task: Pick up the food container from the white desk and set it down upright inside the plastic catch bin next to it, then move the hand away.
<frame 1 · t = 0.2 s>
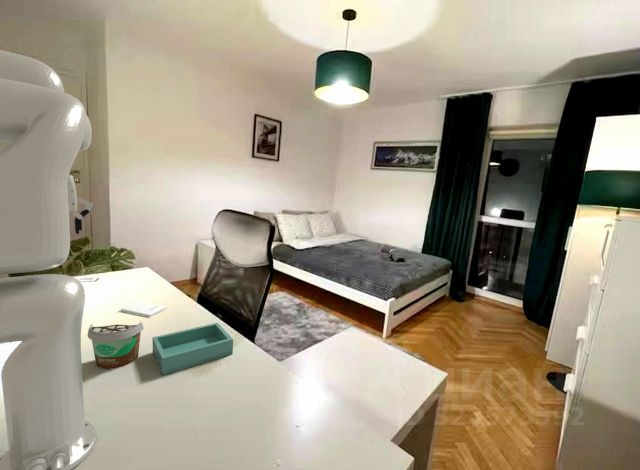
hand: (54, 233, 81), 31 cm above the table, tool pointing down, fingers open, 9 cm apart
external hard drive: (144, 312, 109), on the table
food container: (113, 365, 77), on the table
catch bin: (193, 353, 84), on the table
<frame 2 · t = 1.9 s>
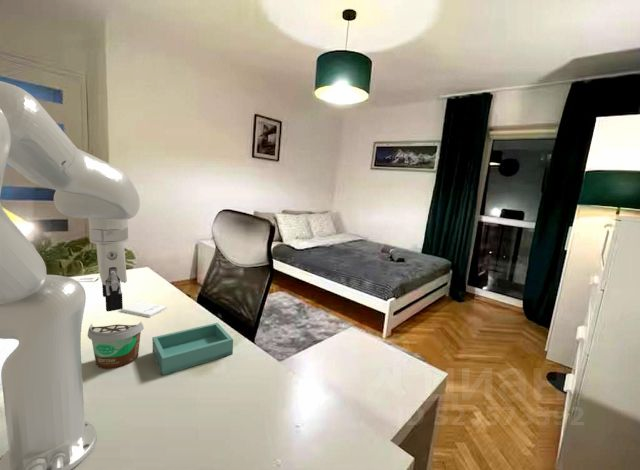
hand: (112, 302, 75), 16 cm above the table, tool pointing down, fingers open, 9 cm apart
nothing on the table moved.
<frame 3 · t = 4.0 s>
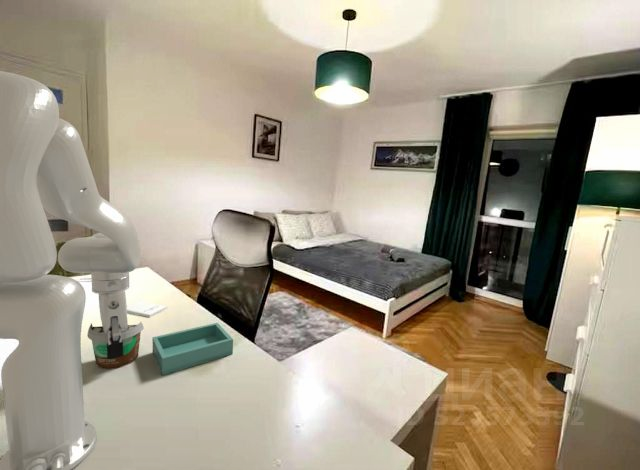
hand: (113, 349, 76), 4 cm above the table, tool pointing down, fingers closed on food container, 7 cm apart
food container: (113, 365, 77), on the table, touching gripper
everything else where it was.
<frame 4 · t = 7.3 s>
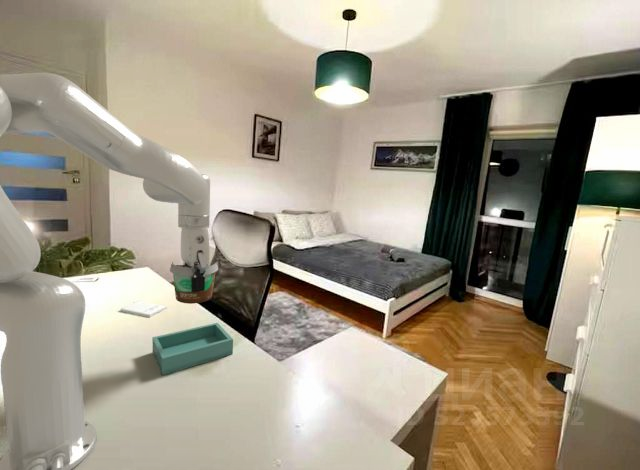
hand: (193, 286, 81), 20 cm above the table, tool pointing down, fingers closed on food container, 7 cm apart
food container: (192, 301, 81), point 15 cm above the table, touching gripper
everything else where it was.
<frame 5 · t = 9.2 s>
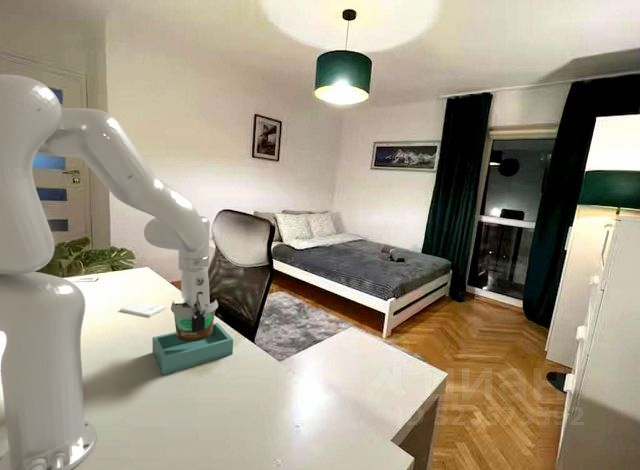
hand: (193, 324, 83), 9 cm above the table, tool pointing down, fingers closed on food container, 7 cm apart
food container: (193, 338, 83), point 5 cm above the table, touching gripper
everything else where it was.
when the fingers open (7 cm above the table, at t = 10.6 s): food container drops 2 cm, resting on catch bin.
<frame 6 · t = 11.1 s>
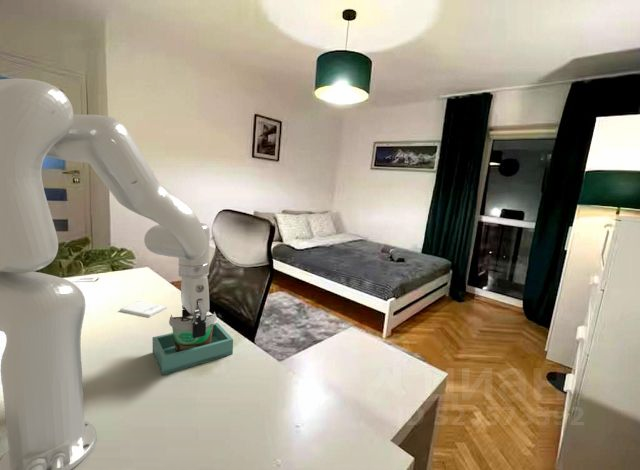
hand: (193, 328, 83), 7 cm above the table, tool pointing down, fingers open, 9 cm apart
food container: (192, 352, 83), point 1 cm above the table, touching catch bin
everything else where it was.
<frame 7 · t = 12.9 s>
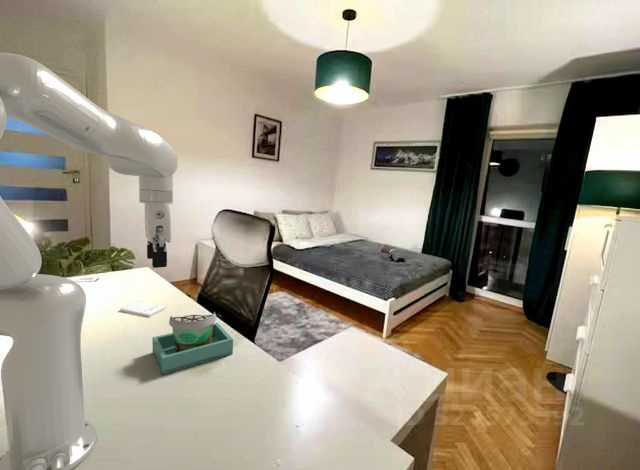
hand: (156, 262, 79), 26 cm above the table, tool pointing down, fingers open, 9 cm apart
nothing on the table moved.
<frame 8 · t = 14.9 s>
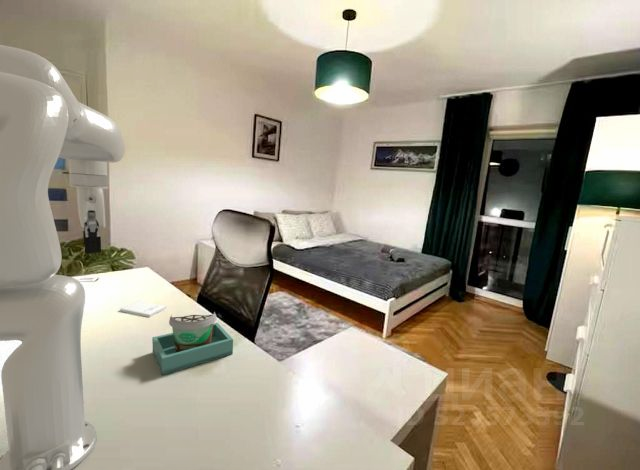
hand: (92, 248, 78), 28 cm above the table, tool pointing down, fingers open, 9 cm apart
nothing on the table moved.
at the end: food container inside the target area on the catch bin (0.8 cm from its centre), point 0.8 cm above the catch bin's base; food container tilted 0°; the gripper is holding nothing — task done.
